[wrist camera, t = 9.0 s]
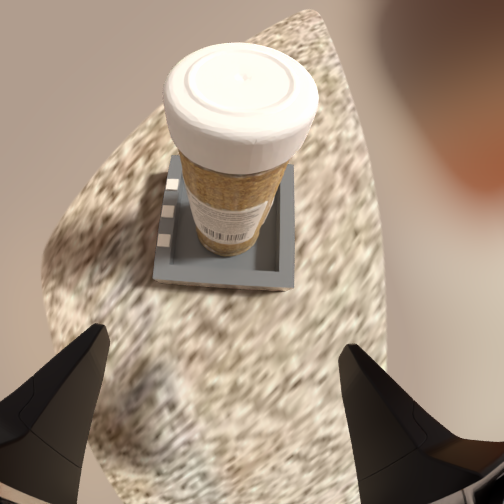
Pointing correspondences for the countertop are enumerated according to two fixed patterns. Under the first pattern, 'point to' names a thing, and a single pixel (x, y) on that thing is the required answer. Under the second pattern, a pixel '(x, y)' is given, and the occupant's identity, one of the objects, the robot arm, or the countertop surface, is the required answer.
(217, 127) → the sprinkles bottle
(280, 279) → the dish
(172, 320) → the countertop surface
